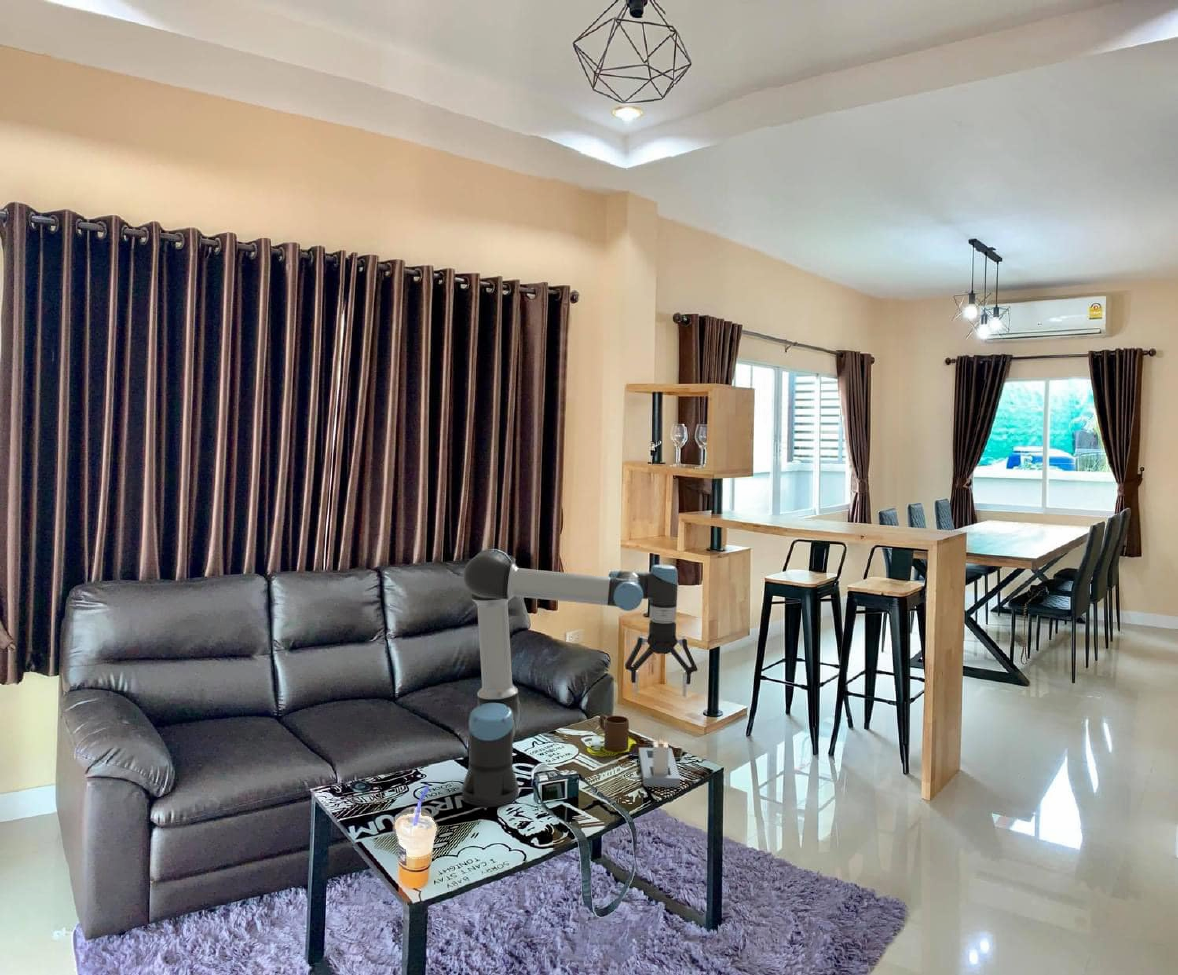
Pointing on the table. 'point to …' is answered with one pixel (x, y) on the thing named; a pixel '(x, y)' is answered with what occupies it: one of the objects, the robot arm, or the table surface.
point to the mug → (615, 732)
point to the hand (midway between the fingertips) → (660, 694)
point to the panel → (658, 780)
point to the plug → (660, 758)
